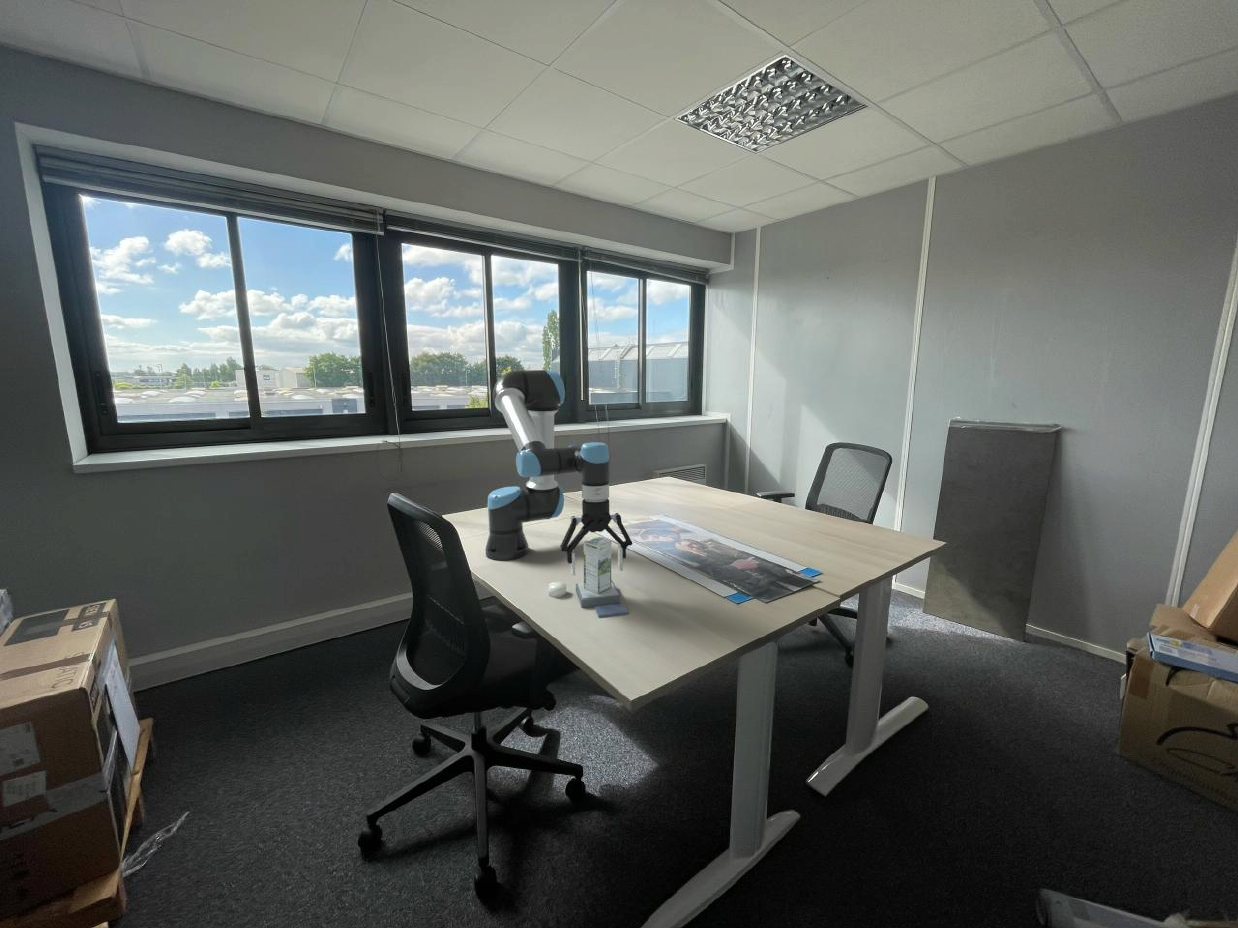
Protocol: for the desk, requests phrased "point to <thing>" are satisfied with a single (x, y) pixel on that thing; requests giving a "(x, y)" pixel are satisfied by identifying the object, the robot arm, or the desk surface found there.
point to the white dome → (557, 589)
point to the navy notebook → (611, 610)
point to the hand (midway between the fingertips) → (597, 571)
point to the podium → (597, 596)
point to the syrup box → (597, 564)
